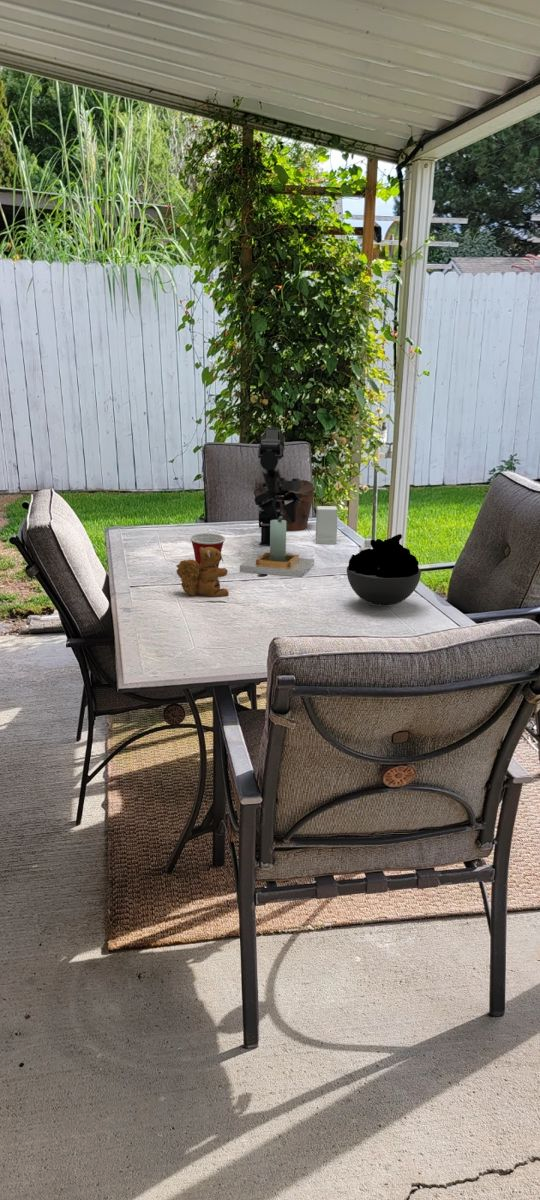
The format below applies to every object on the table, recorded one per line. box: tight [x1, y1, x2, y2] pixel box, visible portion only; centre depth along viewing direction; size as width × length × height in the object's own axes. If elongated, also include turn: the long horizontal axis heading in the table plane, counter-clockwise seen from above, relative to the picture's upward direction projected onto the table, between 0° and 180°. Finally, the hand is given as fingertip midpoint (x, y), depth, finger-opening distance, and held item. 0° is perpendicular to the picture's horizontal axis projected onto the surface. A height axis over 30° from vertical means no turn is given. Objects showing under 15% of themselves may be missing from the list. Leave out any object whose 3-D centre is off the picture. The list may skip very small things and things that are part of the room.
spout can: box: [269, 516, 287, 562], centre depth 273 cm, size 5×5×15 cm
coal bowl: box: [346, 533, 422, 607], centre depth 235 cm, size 20×20×19 cm
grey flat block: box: [239, 552, 315, 578], centre depth 275 cm, size 20×16×4 cm
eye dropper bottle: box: [358, 534, 373, 553], centre depth 270 cm, size 4×6×12 cm
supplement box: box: [315, 505, 339, 545], centre depth 313 cm, size 7×7×13 cm
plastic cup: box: [189, 532, 226, 568], centre depth 264 cm, size 11×11×12 cm
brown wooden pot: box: [279, 479, 315, 531], centre depth 336 cm, size 18×20×18 cm
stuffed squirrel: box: [175, 547, 230, 598], centre depth 244 cm, size 10×14×13 cm
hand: (285, 522), depth 283 cm, fingers open, 9 cm apart
